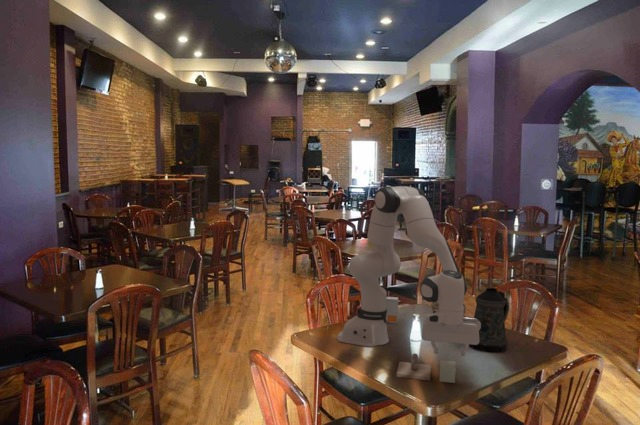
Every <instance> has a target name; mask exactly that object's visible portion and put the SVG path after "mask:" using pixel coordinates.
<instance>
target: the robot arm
mask: <svg viewBox="0 0 640 425" xmlns="http://www.w3.org/2000/svg"><path fill="white" fill-rule="evenodd" d="M400 214H402V216H403V218H404V223H405V224H404V225H405V228H406V233H407V236H408V238H409V240H410V241H411V242H412V243H413V244H414V245H417V246H419V247H422V248H425V249H427V250H429V251H431V252H433V253H434V254H435V255H436V256H437V258H438V261H439V264H440V266H441V269H442V271H441V272H440V273H438V274H436V275H432V276H427V277H424V278H423V279H422V280H421V283H420V284H419V285H420V286H419V291H420V295H421V297H422V299H423V300H425V302H428V303H432V302H437V303H438V304H439V308H438V309H437V310H433V311H432V310H430V311H427V312H426V314H425V320H424V321H423V325H422V330H421V339H422V340H423V341H427V342H430V345H431V346H432V348H433V353H434V354H438V353H439V347H438V346H436V342H440V343H441V342H442V343H449V344H462V345H464V348H463V349H460V356H463V357H466V351H467V350H468V349H469V347H470V346H469V344H472V345H477V344H478V343H479V330H480V328H481V322H480V321H479V320H477V319H476V318H474V317H472V318H471V317H465V314H464V307H463V304H464V301H465V300H464V299H465V296H466V294H467V291H468V285H467V284H468V283H467V282H466V280H465V278H464V275H463V274H462V272H461V271H460V269H459V266H458V264H457V261H456V259H455V256H454V253H453V250H452V249H451V247H450V246H451V245H450V244H449V242H448V240H447V238H446V237H445V235H443V234H442V233H441V232H440V230H439V228H438V226H437V225H436V224H437V223H436V221H435V219H434V218H435V217H434V214H433V211H432V208H431V206H430V204H429V201H428V200H427V197H426V194H425V192H424V191H423V189H421V188H419V187H415V186H406V185H400V186H383V187H380V188H379V189H378V190H377V191H376V193H375V195H374V205H373V208H372V210H371V214H370V219H369V225H368V231H367V240H368V242H370V243H371V244H372V245H373V251H372V252H366V253H365V252H364V253H360V254H357V255H355V256H353V257H351V259H350V260H349V263H348V264H349V265H348V270H349V272H350V275H351V276H352V277H353V278H354V279H355V280H356V281H357V282H358V285H359V288H360V305H358V306H356V312H355V316H354V317H352V318H351V319H348V320H347V321H346V322H345V324H344V325H343V329H342V331H340V332H339V333H338V334H337V337H336V338H337V341H338V342H339V343H344V344H345V343H346V344H350V345H355V346H357V345H358V346H362V347H367V348H373V347H375V346H382V345H386V344H388V343H389V342H390V339H389V336H388V328H387V323H388V322H387V309H386V304H387V297H388V293H387V290H386V289H385V288H384V287H382V286H381V285H380V280H379V279H380V278H383V277H384V278H385V277H388V276H391V275H394V274H396V273H398V272H399V270H400V268H401V263H402V262H401V259H400V256H399V254H397V253H396V250H395V247H394V238H395V232H396V227H397V226H396V225H397V220H398V216H399V215H400Z"/></svg>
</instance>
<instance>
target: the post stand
mask: <svg viewBox="0 0 640 425" xmlns="http://www.w3.org/2000/svg"><path fill="white" fill-rule="evenodd" d="M410 358H411V360H410V361H411V362H407V361H406V362H405V361H399V363H398V365H397V370H396V377H398V378H406V379H414V380H424V381H431V373H432V372H431V371H432V365H431V364H426V363H425V364H424V363H419V355H418V353H415V352H414V353H412V355H411V357H410Z"/></svg>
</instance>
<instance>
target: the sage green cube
mask: <svg viewBox="0 0 640 425" xmlns="http://www.w3.org/2000/svg"><path fill="white" fill-rule="evenodd" d="M456 362H457V361H455V360H454V361H453V360H446V359H445V360H444V359H440V363H439V379H438V380H439V383H440V382H443V383H449V384H455V383H456V369H457V368H456V365H457V364H456Z"/></svg>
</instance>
